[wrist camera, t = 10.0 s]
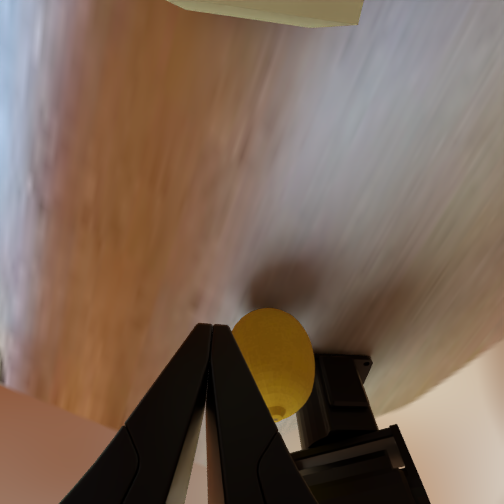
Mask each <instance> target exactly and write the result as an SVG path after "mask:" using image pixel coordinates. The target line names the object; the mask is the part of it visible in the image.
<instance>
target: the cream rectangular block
mask: <svg viewBox="0 0 504 504" xmlns="http://www.w3.org/2000/svg"><path fill="white" fill-rule="evenodd" d="M166 1H169V2H171V3H173V4H175V5H177V6H179V7H181V8H184V9H186V10H191V11H198V12H205V13H212V14H219V15H226V16H232V17H239V18H246V19H253V20H260V21H267V22H274V23H280V24H287V25H294V26H301V27H308V28H317V27H332V26H348V25H358V22H359V18H360V14H361V9H362V5H363V1H364V0H166Z"/></svg>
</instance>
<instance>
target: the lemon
mask: <svg viewBox="0 0 504 504" xmlns="http://www.w3.org/2000/svg"><path fill="white" fill-rule="evenodd" d="M232 334H233V336H234V338H235V340H236V342H237V344H238V346H239V348H240V350H241V353H242V355H243V357H244V359H245V361H246V363H247V365H248V367H249V369H250V371H251V374H252V376H253V378H254V380H255V382H256V384H257V386H258V388H259V390H260V393H261V395H262V397H263V399H264V401H265V403H266V405H267V407H268V409H269V411H270V414H271V416H272V418H273V420H274V422H279V421H281V420H282V419H285V418H287V417H289V416H291V415H293V414H294V413H296V412H297V411H298V410H299V409H300V408H301V407H302V406H303V405H304V404H305V403H306V401H307V400H308V398H309V396H310V394H311V392H312V388H313V383H314V376H315V360H314V354H313V349H312V345H311V342H310V339H309V337H308V335H307V333H306V331H305V330H304V328H303V327H302V325H301V324H300V322H299V321H298V320H296V319H295V318H294V317H293V316H292V315H290V314H289V313H286V312H284V311H282V310H279V309H275V308H262V309H257V310H254V311H252V312H250V313H248V314H247V315H245V316H244V317H242V318H241V319H240V321H239V322H238V323H237V324H236V325H235V327H234V328H233V330H232Z"/></svg>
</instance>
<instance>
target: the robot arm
mask: <svg viewBox="0 0 504 504" xmlns="http://www.w3.org/2000/svg"><path fill="white" fill-rule="evenodd" d="M212 330H213V331H212ZM314 360H315V376H314V383H313V388H312V392H311V394H310V396H309V398H308V400H307V401H306V403H305V404H304V405H303V406H302V407H301V408H300V409H299V410H298V411H297V412H296V417H297V423H298V429H299V435H300V442H301V448H302V450H300V451H296V452H293V453H289V451H288V449H287V447H286V445H285V443H284V441H283V439H282V436H281V434H280V433H279V432H278V428H277V426H276V424H275V422H274V420H273V418H272V416H271V414H270V411H269V409H268V407H267V405H266V403H265V401H264V399H263V397H262V395H261V393H260V390H259V388H258V386H257V384H256V382H255V380H254V378H253V376H252V374H251V371H250V369H249V367H248V365H247V363H246V361H245V359H244V357H243V355H242V353H241V350H240V348H239V346H238V344H237V342H236V340H235V338H234V336H233V334H232V332H231V329H230V327H229V326H228V325H221V324H215V325H213V326H212V324H207V323H198V324H197V325H196V326H195V327H194V329H193V330H192V331H191V333H190V334H189V335H188V337H187V338H186V340H185V341H184V342H183V344H182V345H181V346H180V348H179V349H178V350H177V352H176V353H175V355H174V356H173V357H172V359H171V360H170V361H169V363H168V364H167V366H166V367H165V368H164V370H163V371H162V372H161V374H160V375H159V377H158V378H157V379H156V381H155V382H154V383H153V385H152V386H151V388H150V389H149V390H148V392H147V393H146V394H145V396H144V397H143V399H142V400H141V401H140V403H139V404H138V405H137V407H136V408H135V410H134V411H133V412H132V414H131V415H130V416H129V418H128V419H127V420H126V422H125V426H122V427H121V428H120V430H119V431H118V433H117V434H116V435H115V437H114V438H113V439H112V441H111V442H110V444H109V445H108V446H107V447H106V449H105V450H104V451H103V452H102V454H101V455H100V457H99V458H98V459H97V460H96V461H95V463H94V464H93V465H92V466H91V467H90V469H89V470H88V471H87V472H86V473H85V474H84V476H83V477H82V478H81V479H80V480H79V481H78V483H77V484H76V485H75V486H74V487H73V488H72V490H71V491H70V492H69V493H68V494H67V495H66V496H65V497H64V498H63V500H62V501H61V502H60V503H59V504H184V503H185V498H186V494H187V489H188V484H189V480H190V475H191V471H192V465H193V461H194V457H195V452H196V448H197V443H198V438H199V434H200V429H201V425H202V420H203V415H204V410H205V403H206V448H207V486H208V504H431V503H430V501H429V498H428V496H427V494H426V491H425V489H424V486H423V484H422V481H421V479H420V477H419V474H418V472H417V470H416V467H415V465H414V463H413V460H412V458H411V456H410V453H409V451H408V449H407V447H406V444H405V442H404V439H403V437H402V434H401V433H400V430H399V427H398V425H397V424H395V425H391V426H389V428H385V429H381V430H379V429H378V426H377V424H376V421H375V418H374V415H373V413H372V410H371V407H370V404H369V400H368V397H367V395H366V392H365V389H364V386H363V384H364V382H365V380H366V377H367V375H368V373H369V371H370V369H371V366H372V364H373V362H372V360H371V357H369V356H359V355H334V354H314ZM209 362H210V363H209ZM208 373H209V374H208ZM207 383H208V385H207ZM206 394H207V396H206ZM403 466H405V468H402V469H399V467H403Z"/></svg>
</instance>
